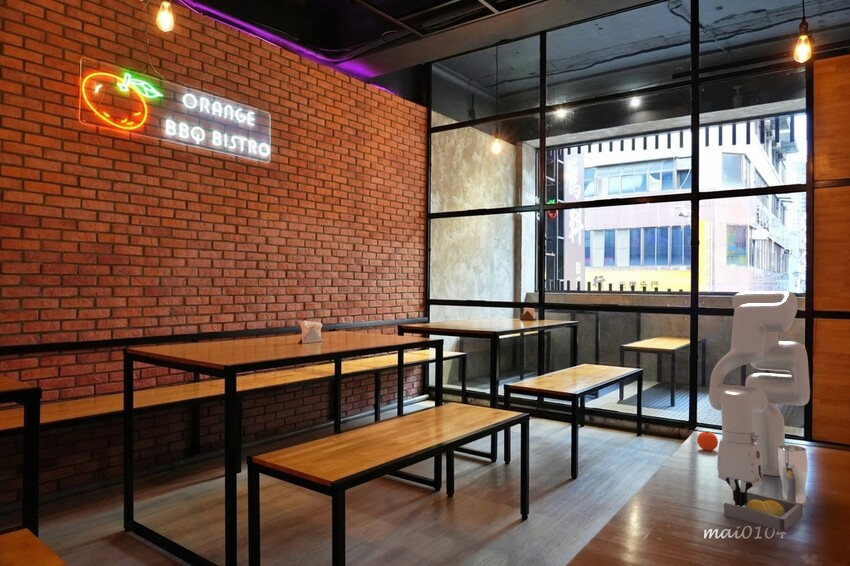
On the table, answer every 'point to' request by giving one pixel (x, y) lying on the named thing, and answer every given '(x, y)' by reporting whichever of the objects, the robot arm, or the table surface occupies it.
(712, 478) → the table surface
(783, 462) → the beer glass
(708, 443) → the clementine
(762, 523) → the frame
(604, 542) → the table surface
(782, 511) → the bread roll
